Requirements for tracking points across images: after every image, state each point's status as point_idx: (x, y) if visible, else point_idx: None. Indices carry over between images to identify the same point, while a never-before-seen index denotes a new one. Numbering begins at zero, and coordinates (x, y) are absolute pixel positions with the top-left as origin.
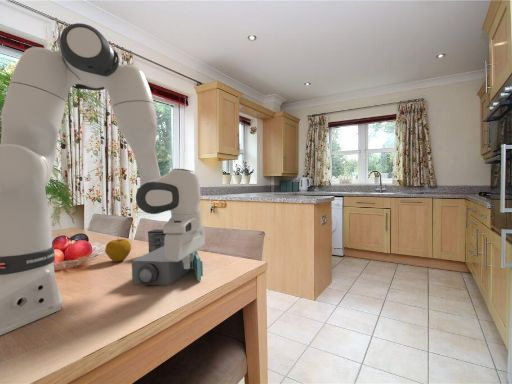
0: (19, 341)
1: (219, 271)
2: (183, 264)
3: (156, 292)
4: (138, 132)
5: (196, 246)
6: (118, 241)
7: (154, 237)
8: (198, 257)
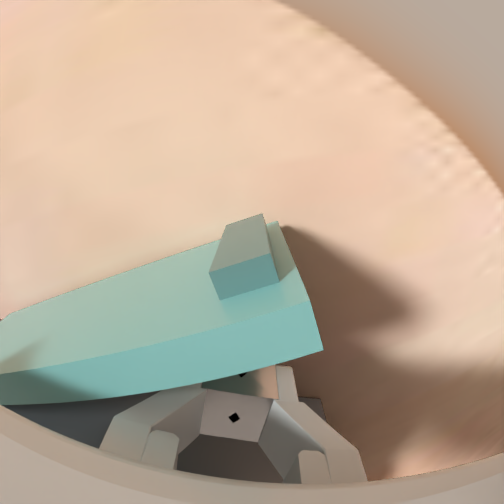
0: None
1: (56, 120)
2: (105, 413)
3: (393, 416)
4: None
5: (70, 500)
6: None
7: None
8: (229, 344)
